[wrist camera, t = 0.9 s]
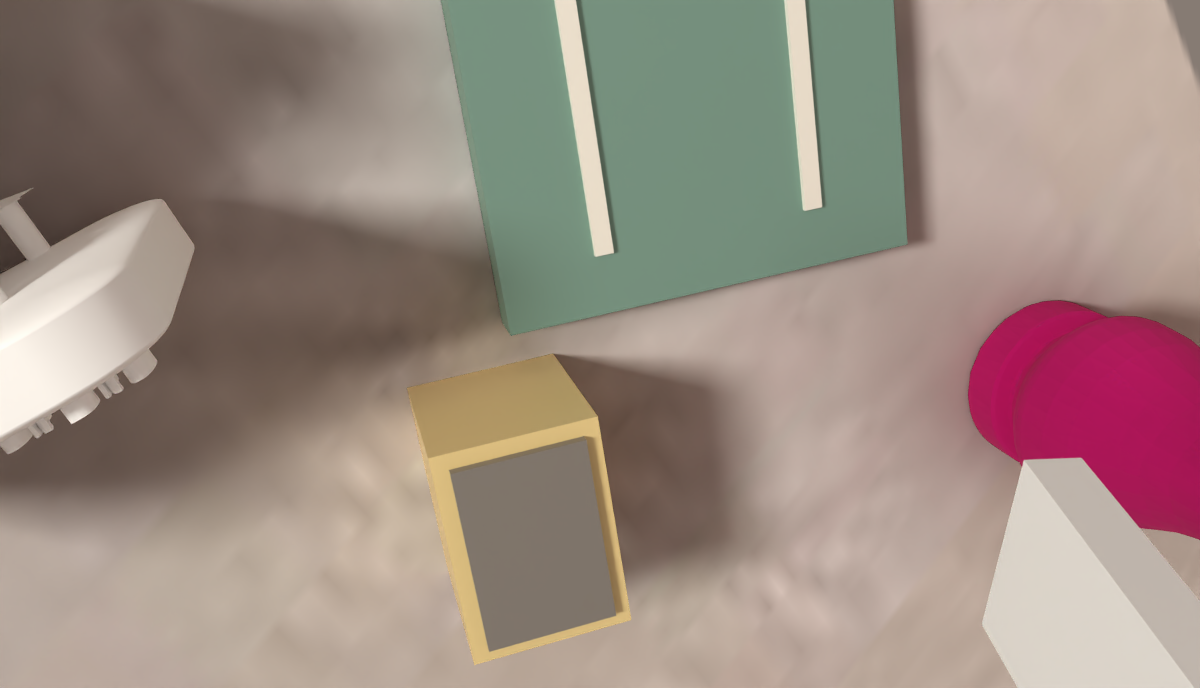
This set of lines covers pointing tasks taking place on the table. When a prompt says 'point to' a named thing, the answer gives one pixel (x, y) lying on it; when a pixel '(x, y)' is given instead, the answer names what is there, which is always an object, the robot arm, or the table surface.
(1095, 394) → the pepper mill
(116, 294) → the cable organizer
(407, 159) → the table surface
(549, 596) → the plug block
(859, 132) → the board
